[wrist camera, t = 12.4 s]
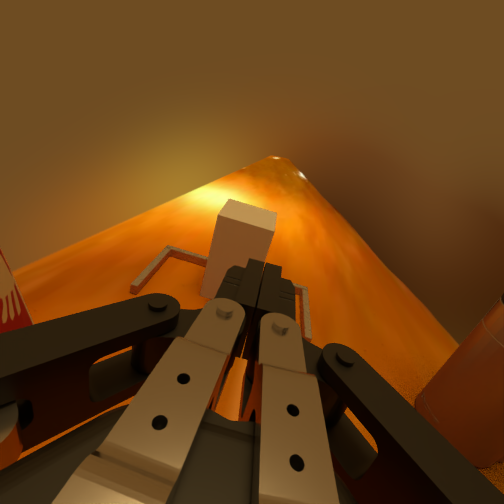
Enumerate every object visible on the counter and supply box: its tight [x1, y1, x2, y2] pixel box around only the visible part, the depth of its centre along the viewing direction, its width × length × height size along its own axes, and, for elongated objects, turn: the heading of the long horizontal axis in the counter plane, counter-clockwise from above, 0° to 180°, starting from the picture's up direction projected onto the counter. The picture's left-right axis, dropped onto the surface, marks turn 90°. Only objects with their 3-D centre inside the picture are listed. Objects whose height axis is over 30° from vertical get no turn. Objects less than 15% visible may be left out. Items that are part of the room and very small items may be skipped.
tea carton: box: [200, 199, 277, 299], centre depth 45 cm, size 8×8×14 cm
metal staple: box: [130, 245, 312, 342], centre depth 47 cm, size 27×14×2 cm, turn 82°
